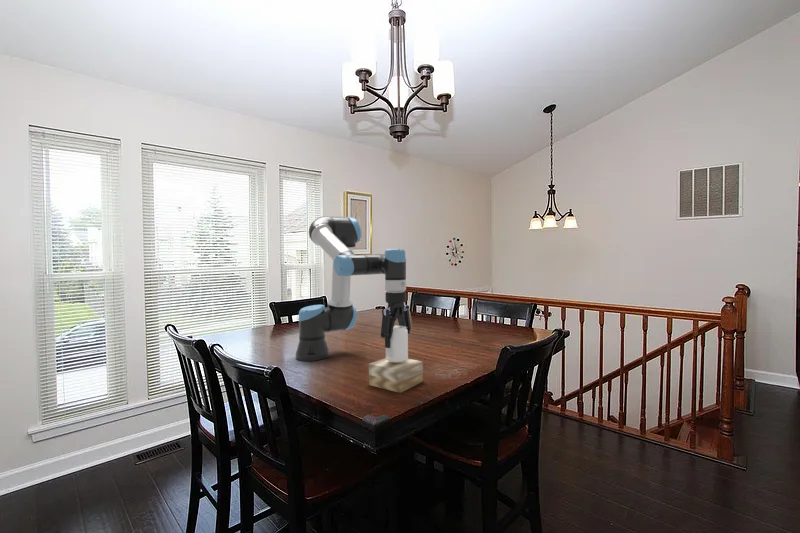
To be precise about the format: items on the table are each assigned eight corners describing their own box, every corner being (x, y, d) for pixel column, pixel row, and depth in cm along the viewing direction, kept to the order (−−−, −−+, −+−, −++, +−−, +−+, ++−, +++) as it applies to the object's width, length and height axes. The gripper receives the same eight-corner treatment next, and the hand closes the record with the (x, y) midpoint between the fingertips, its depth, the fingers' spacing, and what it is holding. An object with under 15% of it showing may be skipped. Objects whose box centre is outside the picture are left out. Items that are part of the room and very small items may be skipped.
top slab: (368, 374, 140) (368, 363, 140) (393, 365, 151) (393, 355, 150) (399, 382, 131) (399, 371, 131) (422, 372, 142) (422, 361, 142)
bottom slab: (369, 386, 139) (369, 375, 139) (392, 375, 151) (392, 365, 151) (400, 394, 131) (400, 382, 131) (423, 382, 142) (422, 371, 142)
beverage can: (385, 357, 144) (384, 325, 144) (406, 356, 145) (406, 324, 145) (386, 363, 136) (385, 329, 136) (409, 362, 137) (408, 329, 136)
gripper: (386, 294, 129) (387, 362, 130) (420, 289, 146) (420, 349, 147) (369, 293, 133) (370, 359, 134) (403, 288, 150) (404, 346, 151)
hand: (396, 353), depth 141 cm, fingers closed on beverage can, 8 cm apart
